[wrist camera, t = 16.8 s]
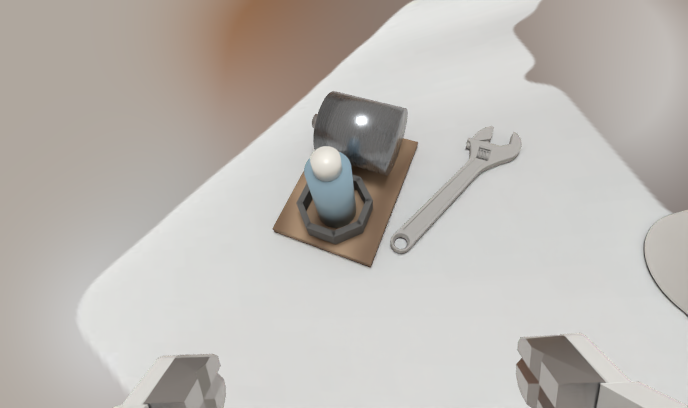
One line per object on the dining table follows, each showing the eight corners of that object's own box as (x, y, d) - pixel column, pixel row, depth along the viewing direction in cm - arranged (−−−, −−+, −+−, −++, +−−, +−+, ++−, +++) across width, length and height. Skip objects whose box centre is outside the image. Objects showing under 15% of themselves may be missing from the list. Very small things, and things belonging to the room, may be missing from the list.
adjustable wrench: (401, 259, 43) (402, 255, 42) (367, 226, 46) (367, 220, 44) (524, 150, 49) (529, 142, 48) (489, 125, 52) (492, 117, 50)
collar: (379, 192, 46) (379, 182, 44) (355, 251, 43) (353, 244, 40) (319, 173, 49) (316, 163, 46) (291, 228, 45) (286, 220, 43)
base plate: (417, 146, 51) (417, 142, 50) (370, 267, 43) (370, 264, 42) (332, 123, 54) (331, 119, 53) (274, 231, 46) (272, 228, 45)
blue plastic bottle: (361, 200, 46) (357, 146, 35) (347, 233, 44) (338, 186, 33) (327, 188, 47) (313, 133, 37) (311, 220, 45) (292, 171, 35)
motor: (404, 138, 50) (410, 93, 42) (384, 187, 47) (386, 148, 39) (331, 119, 53) (323, 73, 45) (307, 164, 50) (294, 122, 42)
